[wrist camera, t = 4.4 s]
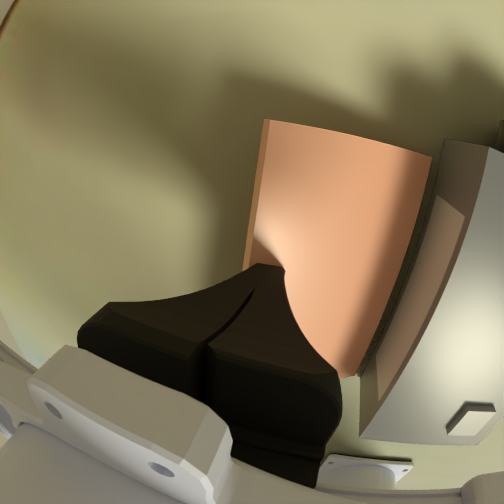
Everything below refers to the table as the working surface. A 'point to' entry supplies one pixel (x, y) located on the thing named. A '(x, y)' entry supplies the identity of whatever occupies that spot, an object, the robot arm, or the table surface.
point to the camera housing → (446, 315)
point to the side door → (334, 229)
